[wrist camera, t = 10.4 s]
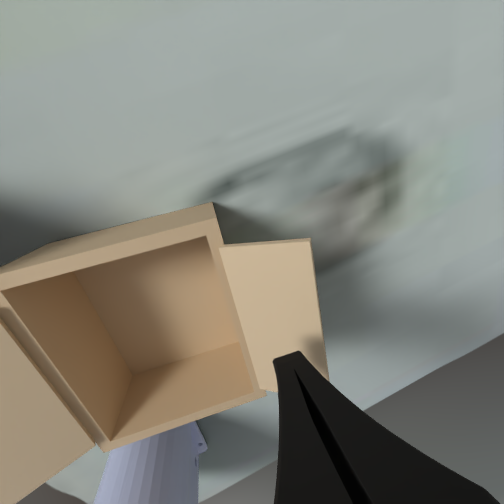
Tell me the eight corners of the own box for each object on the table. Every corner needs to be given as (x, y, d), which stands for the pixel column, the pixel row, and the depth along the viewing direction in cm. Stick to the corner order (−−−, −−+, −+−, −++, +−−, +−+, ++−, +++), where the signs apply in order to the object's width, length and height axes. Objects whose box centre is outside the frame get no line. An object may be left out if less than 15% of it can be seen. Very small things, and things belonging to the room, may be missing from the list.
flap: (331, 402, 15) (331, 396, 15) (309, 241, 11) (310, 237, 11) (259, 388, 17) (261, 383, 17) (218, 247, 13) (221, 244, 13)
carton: (251, 341, 23) (266, 395, 18) (128, 380, 22) (103, 452, 16) (212, 201, 18) (216, 217, 12) (48, 243, 17) (-29, 281, 11)
